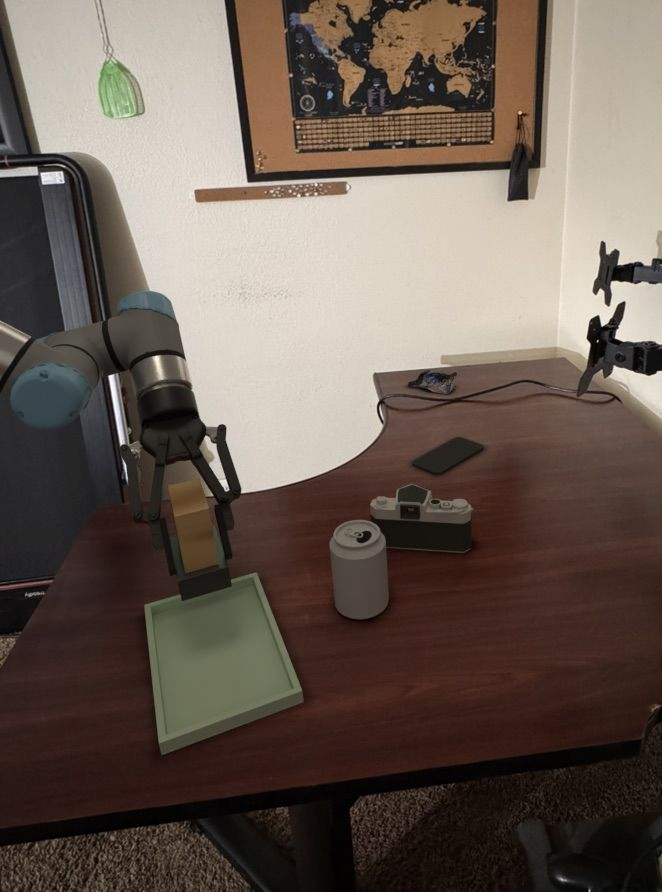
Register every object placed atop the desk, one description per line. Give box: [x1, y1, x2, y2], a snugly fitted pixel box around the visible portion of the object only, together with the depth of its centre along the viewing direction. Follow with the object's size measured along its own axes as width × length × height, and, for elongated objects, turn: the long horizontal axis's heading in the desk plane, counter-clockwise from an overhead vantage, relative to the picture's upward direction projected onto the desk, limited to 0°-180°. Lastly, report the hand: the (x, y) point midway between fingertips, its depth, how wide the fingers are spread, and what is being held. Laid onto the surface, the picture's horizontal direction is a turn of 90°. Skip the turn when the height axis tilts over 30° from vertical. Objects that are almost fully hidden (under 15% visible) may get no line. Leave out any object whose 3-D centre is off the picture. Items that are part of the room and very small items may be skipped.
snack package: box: [407, 369, 458, 395], centre depth 162 cm, size 12×6×12 cm
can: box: [329, 519, 390, 620], centre depth 85 cm, size 8×8×12 cm
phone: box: [411, 436, 484, 476], centre depth 126 cm, size 7×1×15 cm
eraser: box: [167, 478, 232, 601], centre depth 79 cm, size 10×6×11 cm, turn 23°
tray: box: [143, 572, 305, 756], centre depth 79 cm, size 24×16×2 cm, turn 23°
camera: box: [369, 483, 475, 554], centre depth 99 cm, size 16×9×10 cm, turn 80°
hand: (201, 564), depth 76 cm, fingers closed on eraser, 6 cm apart
